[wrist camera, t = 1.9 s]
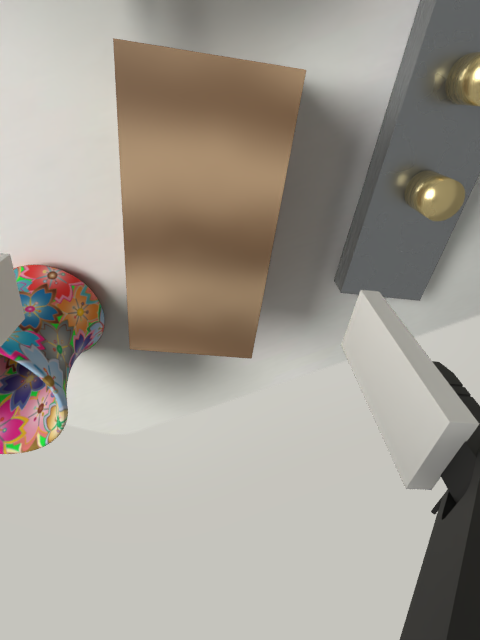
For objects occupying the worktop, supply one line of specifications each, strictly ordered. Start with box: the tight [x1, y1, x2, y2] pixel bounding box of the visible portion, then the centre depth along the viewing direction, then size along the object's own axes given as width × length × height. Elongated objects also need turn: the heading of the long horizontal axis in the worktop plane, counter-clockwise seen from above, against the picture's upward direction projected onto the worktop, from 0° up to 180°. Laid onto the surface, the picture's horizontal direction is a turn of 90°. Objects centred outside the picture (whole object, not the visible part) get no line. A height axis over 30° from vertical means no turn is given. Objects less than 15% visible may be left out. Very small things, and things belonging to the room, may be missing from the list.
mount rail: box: [334, 0, 480, 300], centre depth 21 cm, size 22×6×5 cm, turn 173°
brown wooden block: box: [113, 38, 306, 358], centre depth 22 cm, size 16×8×7 cm, turn 173°
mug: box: [0, 265, 104, 454], centre depth 25 cm, size 12×9×11 cm
